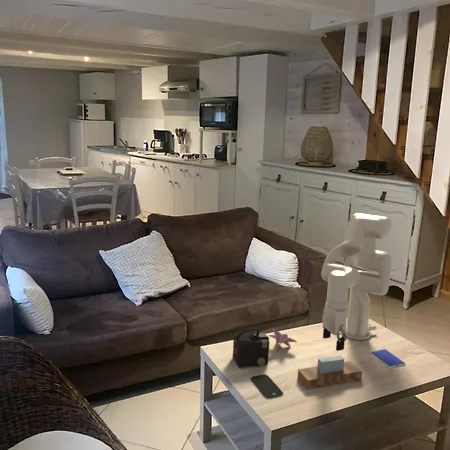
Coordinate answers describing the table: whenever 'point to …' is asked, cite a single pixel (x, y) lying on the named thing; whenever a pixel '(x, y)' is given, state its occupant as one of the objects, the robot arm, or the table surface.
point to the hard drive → (387, 358)
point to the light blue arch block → (330, 364)
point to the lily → (281, 338)
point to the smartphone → (266, 386)
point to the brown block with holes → (329, 376)
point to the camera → (250, 348)
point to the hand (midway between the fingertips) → (333, 343)
